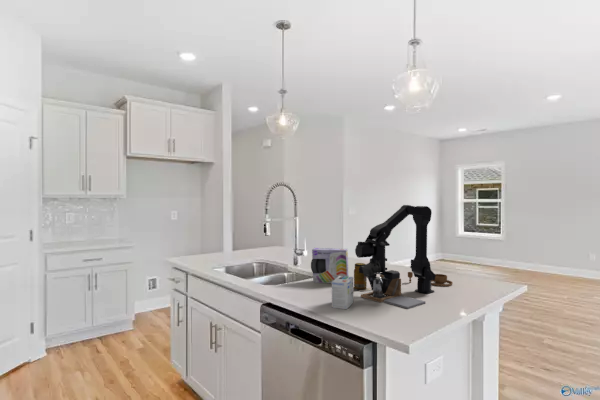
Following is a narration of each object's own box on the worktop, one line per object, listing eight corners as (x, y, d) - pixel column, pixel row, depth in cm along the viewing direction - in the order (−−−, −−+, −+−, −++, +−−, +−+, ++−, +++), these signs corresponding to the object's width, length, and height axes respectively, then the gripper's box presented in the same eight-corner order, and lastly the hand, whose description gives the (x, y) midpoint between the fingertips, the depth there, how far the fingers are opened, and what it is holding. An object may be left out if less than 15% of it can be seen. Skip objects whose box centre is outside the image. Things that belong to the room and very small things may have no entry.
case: (381, 291, 169) (381, 274, 169) (401, 296, 161) (401, 278, 161) (360, 296, 161) (360, 278, 161) (380, 302, 152) (380, 283, 152)
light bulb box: (338, 300, 155) (338, 275, 155) (353, 302, 153) (353, 276, 153) (331, 307, 145) (331, 280, 145) (347, 309, 143) (347, 282, 143)
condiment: (361, 286, 180) (361, 262, 180) (372, 289, 173) (372, 264, 173) (349, 288, 177) (349, 263, 177) (360, 291, 169) (360, 266, 169)
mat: (401, 297, 160) (401, 295, 160) (425, 303, 151) (425, 301, 151) (383, 302, 153) (383, 300, 153) (407, 308, 143) (407, 306, 143)
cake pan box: (310, 282, 189) (310, 248, 189) (313, 280, 193) (313, 247, 193) (347, 285, 183) (347, 249, 182) (349, 282, 187) (349, 248, 187)
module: (378, 295, 163) (378, 275, 163) (386, 297, 159) (386, 277, 159) (370, 297, 160) (370, 277, 160) (379, 299, 156) (379, 279, 156)
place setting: (446, 290, 174) (446, 278, 174) (406, 284, 186) (406, 272, 186) (457, 283, 187) (457, 272, 187) (419, 278, 200) (418, 267, 200)
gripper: (350, 255, 162) (350, 290, 162) (383, 261, 147) (383, 299, 148) (367, 252, 169) (367, 286, 169) (400, 258, 154) (400, 294, 154)
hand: (378, 291), depth 160 cm, fingers open, 6 cm apart
